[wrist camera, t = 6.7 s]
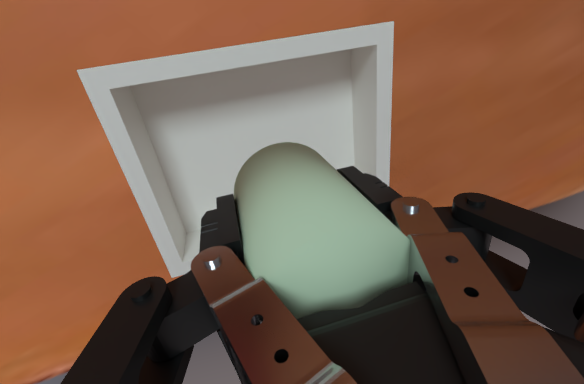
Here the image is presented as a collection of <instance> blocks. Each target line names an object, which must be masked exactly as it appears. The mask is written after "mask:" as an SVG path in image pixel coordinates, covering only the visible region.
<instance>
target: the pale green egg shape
mask: <svg viewBox="0 0 584 384" xmlns="http://www.w3.org/2000/svg"><path fill="white" fill-rule="evenodd" d="M234 198H235V203H236V209H237V215H238V221H239V228H240V234H241V240H242V246H243V252H244V263H245V268H246V269H247V270H248V271H249V273H250V274H251V275H252V276H253V278H254V279H255V280H256V279H257V278H259V277H260V278H262V279H263V280H264V281H265V282H266V283H267V284H268V286H269V287H270V288H271V289H272V290H273V292H274V293H275V294H276V295H277V296H278V298H279V299H280V300H281V301H282V302H283V304H284V305H285V306H286V307H287V309H288V310H289V311H290V312H291V313H292V315H293V316H294V317H295V318H296V319H298V318H301V317H304V316H308V315H311V314H314V313H317V312H320V311H327V310H339V309H351V308H359V307H361V306H363V305H364V304H366V303H368V302H369V301H371V300H372V299H374V298H375V297H377V296H379V295H380V294H382V293H383V292H385V291H386V290H390V289H393V288H396V287H399V286H402V285H405V284H407V277H408V265H409V252H410V240H409V239H408V238H407V237H406V236H405V235H404V234H403V233H402V232H401V231H400V230H399V229H398V228H397V227H396V226H395V225H394V224H393V223H392V222H391V221H389V220H388V219H387V218H386V217H385V216H384V215H383V214H382V213H381V212H380V211H379V210H378V209H377V208H376V207H375V206H374V205H373V204H372V203H371V202H369V201H368V200H367V199H366V198H365V197H364V196H363V195H362V194H361V193H360V192H359V191H358V190H357V189H356V188H355V187H354V186H353V185H352V184H350V183H349V182H348V181H347V180H346V179H345V178H344V177H343V176H342V175H341V174H340V173H339V172H338V171H337V170H336V169H335V168H334V167H333V166H332V165H330V164H329V163H328V162H327V161H326V160H325V159H324V158H323V157H322V156H321V155H320V154H319V153H318V152H316V151H315V150H314V149H312V148H310V147H308V146H306V145H303V144H299V143H293V142H282V143H276V144H272V145H269V146H267V147H264V148H262V149H261V150H259V151H257V152H256V153H255V154H253V155H252V156H251V157H250V158H249V159H248V160H247V161H246V162H245V163H244V165H243V166H242V167H241V169H240V171H239V173H238V175H237V177H236V181H235V184H234Z"/></svg>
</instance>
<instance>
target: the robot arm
mask: <svg viewBox="0 0 584 384" xmlns="http://www.w3.org/2000/svg"><path fill="white" fill-rule="evenodd" d="M337 171H338V172H339V173H340V174H341V175H342V176H343V177H344V178H345V179H346V180H347V181H348V182H349V183H350V184H352V185H353V186H354V187H355V188H356V189H357V190H358V191H359V192H360V193H361V194H362V195H363V196H364V197H365V198H366V199H367V200H368V201H369V202H371V203H372V204H373V205H374V206H375V207H376V208H377V209H378V210H379V211H380V212H381V213H382V214H383V215H384V216H385V217H386V218H387V219H388V220H389V221H391V222H392V223H393V224H394V225H395V226H396V227H397V228H398V229H399V230H400V231H401V232H402V233H403V234H404V235H405V236H406V237H407V238H408V239H409V240H410V252H409V265H408V277H407V284H405V285H402V286H399V287H396V288H393V289H390V290H386V291H385V292H383V293H382V294H380V295H379V296H377V297H375V298H374V299H372V300H371V301H369V302H368V303H366V304H364V305H363V306H361V307H359V308H351V309H339V310H327V311H320V312H317V313H314V314H311V315H308V316H304V317H301V318H298V319H296V318H295V317H294V316H293V315H292V313H291V312H290V311H289V310H288V309H287V307H286V306H285V305H284V304H283V302H282V301H281V300H280V299H279V298H278V296H277V295H276V294H275V293H274V292H273V290H272V289H271V288H270V287H269V286H268V284H267V283H266V282H265V281H264V280H263V279H262V278H260V277H259V278H257V279H256V280H255V279H254V278H253V276H252V275H251V274H250V273H249V271H248V270H247V269H246V268H245V263H244V252H243V246H242V240H241V234H240V228H239V221H238V215H237V209H236V203H235V198H234V195H233V194H229V195H225V196H221V197H216V204H217V209H214V210H210V211H206V213H205V214H204V216H203V217H202V218H201V231H200V232H201V234H200V249H199V254H197V255H196V256H195V257H194V259H193V260H192V262H191V270H190V271H189V272H188V273H186V274H185V275H183V276H181V277H179V278H177V279H175V280H173V281H171V282H169V283H167V284H166V281H165V280H164V279H163V278H161V277H148V278H144V279H141V280H139V281H137V282H135V283H133V284H132V285H130V286H129V287H128V288H127V289H125V290H124V291H123V292H122V294H121V295H120V296H119V298H118V299H117V301H116V302H115V304H114V305H113V306H112V308H111V309H110V311H109V312H108V314H107V315H106V317H105V318H104V320H103V321H102V323H101V324H100V326H99V327H98V329H97V330H96V332H95V333H94V335H93V336H92V338H91V339H90V341H89V342H88V344H87V345H86V347H85V348H84V350H83V351H82V353H81V354H80V356H79V357H78V358H77V360H76V361H75V363H74V364H73V366H72V367H71V369H70V370H69V372H68V373H67V375H66V376H65V378H64V379H63V381H62V382H61V384H182V382H183V379H184V376H185V373H186V370H187V367H188V364H189V361H190V358H191V354H192V351H193V348H194V344H196V343H197V342H199V341H201V340H202V339H204V338H205V337H207V336H209V335H210V334H212V333H213V332H215V331H217V333H218V335H219V337H220V339H221V341H222V343H223V345H224V347H225V349H226V352H227V353H228V355H229V357H230V360H231V362H232V364H233V366H234V368H235V370H236V372H237V375H238V377H239V379H240V381H241V384H584V230H583V229H580V228H577V227H574V226H571V225H569V224H566V223H563V222H560V221H558V220H555V219H552V218H549V217H546V216H543V215H541V214H538V213H535V212H532V211H529V210H527V209H524V208H521V207H518V206H515V205H513V204H510V203H507V202H504V201H501V200H499V199H496V198H493V197H490V196H487V195H484V194H480V193H462V194H458V195H456V196H455V197H454V199H453V205H452V207H434V208H433V207H432V206H431V204H430V203H429V202H427V201H426V200H424V199H421V198H417V197H402V196H401V195H400V194H398V193H397V192H396V191H394V190H393V189H392V188H390V187H389V186H388V185H387V184H385V183H384V182H382V181H381V180H380V179H379V178H377V177H376V176H373V175H370V174H367V173H364V174H363V173H362V172H361V171H359V170H358V169H357V168H356V167H354V166H349V167H345V168H340V169H337ZM492 236H494V237H496V238H498V239H500V240H502V241H505V242H507V243H509V244H511V245H513V246H515V247H518V248H520V249H522V250H523V251H524V252H525V253H526V254H527V255H528V257H529V259H530V264H529V267H528V270H527V269H525V268H523V267H521V266H519V265H517V264H515V263H513V262H511V261H509V260H507V259H505V258H503V257H501V256H499V255H497V254H495V253H494V252H491V251H489V246H490V242H491V238H492ZM520 310H521V311H522V312H524V313H526V314H527V315H529V316H530V317H532V318H534V319H536V320H537V321H539V322H540V323H542V324H543V325H545V326H547V327H548V328H550V329H552V330H553V331H552V330H549V329H547V328H544V327H542V326H540V325H538V324H536V323H533V322H531V321H529V320H528V319H526V318H525V316H524V315H523V314H522V313H521V311H520Z"/></svg>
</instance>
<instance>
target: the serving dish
mask: <svg viewBox="0 0 584 384" xmlns="http://www.w3.org/2000/svg"><path fill="white" fill-rule="evenodd" d="M393 37H394V21H392V22H385V23H379V24H372V25H366V26H359V27H353V28H346V29H340V30H333V31H327V32H320V33H314V34H307V35H301V36H294V37H288V38H282V39H275V40H269V41H262V42H256V43H249V44H243V45H236V46H230V47H223V48H217V49H210V50H204V51H197V52H191V53H184V54H178V55H171V56H165V57H158V58H152V59H146V60H139V61H133V62H126V63H120V64H113V65H107V66H100V67H94V68H87V69H81V70H77V72H78V74H79V77H80V79H81V81H82V83H83V85H84V88H85V90H86V92H87V94H88V96H89V98H90V101H91V103H92V105H93V107H94V109H95V111H96V114H97V116H98V118H99V120H100V122H101V125H102V127H103V129H104V131H105V133H106V135H107V138H108V140H109V142H110V144H111V146H112V148H113V151H114V153H115V155H116V157H117V159H118V162H119V164H120V166H121V168H122V170H123V172H124V175H125V177H126V179H127V181H128V183H129V185H130V188H131V190H132V192H133V194H134V196H135V199H136V201H137V203H138V205H139V207H140V209H141V212H142V214H143V216H144V218H145V220H146V222H147V225H148V227H149V229H150V231H151V233H152V236H153V238H154V240H155V242H156V244H157V246H158V249H159V251H160V253H161V255H162V257H163V259H164V262H165V264H166V266H167V268H168V270H169V272H170V275H171V277H172V278H173V277H177V276H180V275H184V274H186V273H188V272H189V271H190V270H191V262H192V260H193V259H194V257H195V256H196V255H197V254H199V249H200V234H201V232H200V231H201V218H202V217H203V216H204V214H205V213H206V211H210V210H214V209H217V204H216V197H221V196H225V195H229V194H233V195H234V184H235V181H236V177H237V175H238V173H239V171H240V169H241V167H242V166H243V165H244V163H245V162H246V161H247V160H248V159H249V158H250V157H251V156H252V155H253V154H255V153H256V152H257V151H259V150H261V149H262V148H264V147H267V146H269V145H272V144H276V143H282V142H293V143H299V144H303V145H306V146H308V147H310V148H312V149H314V150H315V151H316V152H318V153H319V154H320V155H321V156H322V157H323V158H324V159H325V160H326V161H327V162H328V163H329V164H330V165H332V166H333V167H334V168H335V169H336V170H337V169H340V168H345V167H349V166H354V167H356V168H357V169H358V170H359V171H361V172H362V173H363V174H364V173H367V174H370V175H373V176H376V177H377V178H379V179H380V180H381V181H382V182H384V183H385V184H387V185H388V186H389V172H390V138H391V104H392V71H393Z"/></svg>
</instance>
